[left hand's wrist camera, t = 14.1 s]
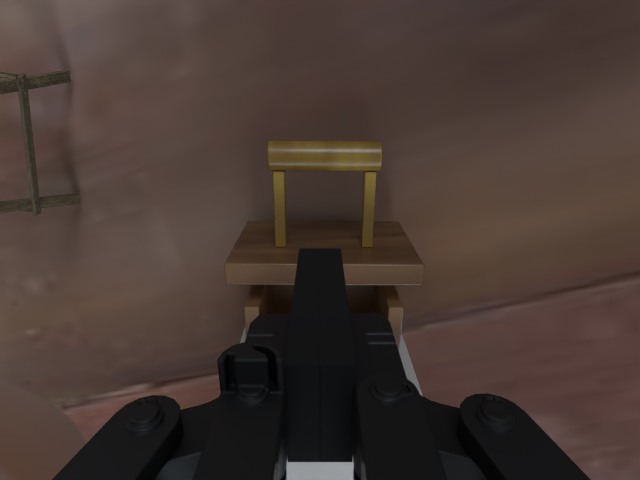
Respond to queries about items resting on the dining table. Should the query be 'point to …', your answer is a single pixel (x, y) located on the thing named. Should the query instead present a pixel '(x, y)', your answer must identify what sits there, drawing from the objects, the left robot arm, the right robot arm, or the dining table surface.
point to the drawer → (325, 239)
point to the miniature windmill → (22, 85)
